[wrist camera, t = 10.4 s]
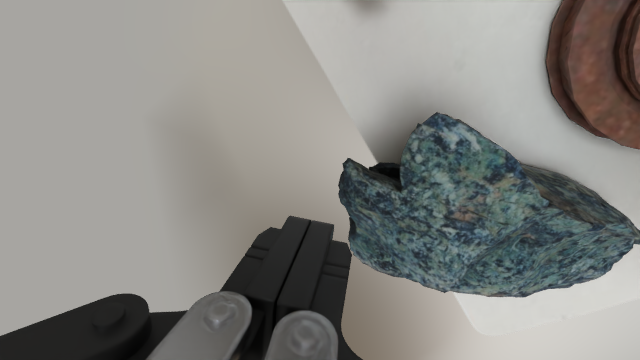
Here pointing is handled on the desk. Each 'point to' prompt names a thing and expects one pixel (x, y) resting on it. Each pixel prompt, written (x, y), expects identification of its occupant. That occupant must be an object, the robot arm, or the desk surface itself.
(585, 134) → the desk surface
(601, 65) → the brown ridged round piece
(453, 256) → the rock
